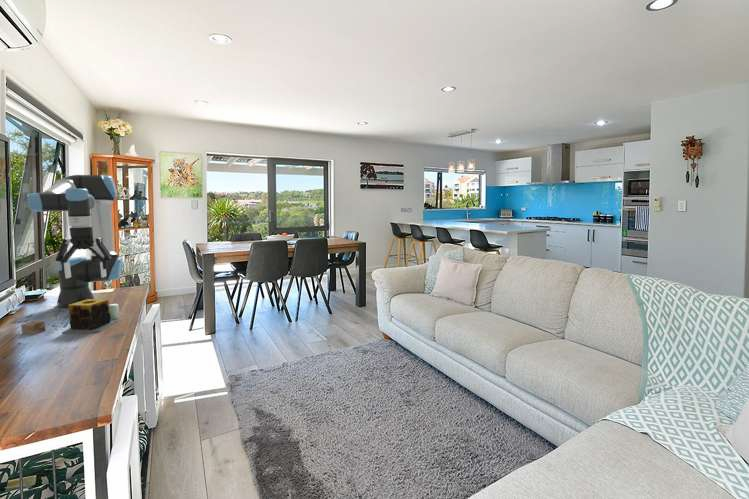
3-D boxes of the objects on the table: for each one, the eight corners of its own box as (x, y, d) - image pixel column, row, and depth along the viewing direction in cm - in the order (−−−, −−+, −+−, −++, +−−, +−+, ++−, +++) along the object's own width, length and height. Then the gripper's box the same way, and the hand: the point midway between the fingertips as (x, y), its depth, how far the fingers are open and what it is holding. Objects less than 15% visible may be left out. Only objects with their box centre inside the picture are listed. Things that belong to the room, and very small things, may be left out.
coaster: (82, 322, 172) (82, 321, 172) (117, 321, 174) (117, 319, 174) (62, 333, 159) (61, 332, 159) (100, 331, 161) (100, 330, 161)
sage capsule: (110, 317, 181) (109, 304, 180) (121, 316, 181) (120, 303, 180) (105, 320, 176) (104, 306, 176) (116, 319, 177) (115, 306, 176)
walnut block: (34, 330, 164) (33, 320, 163) (45, 330, 163) (44, 321, 162) (22, 334, 159) (21, 324, 158) (33, 335, 158) (32, 325, 157)
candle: (91, 330, 161) (89, 305, 159) (69, 329, 162) (66, 304, 161) (111, 322, 171) (109, 299, 170) (90, 321, 172) (87, 298, 171)
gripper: (40, 227, 160) (47, 280, 163) (109, 227, 164) (114, 278, 167) (52, 226, 167) (58, 276, 171) (118, 225, 171) (122, 274, 174)
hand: (86, 277), depth 169 cm, fingers open, 13 cm apart
